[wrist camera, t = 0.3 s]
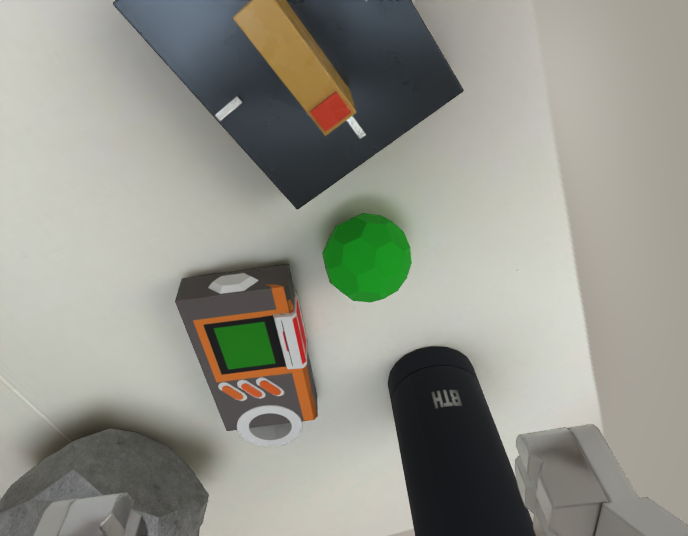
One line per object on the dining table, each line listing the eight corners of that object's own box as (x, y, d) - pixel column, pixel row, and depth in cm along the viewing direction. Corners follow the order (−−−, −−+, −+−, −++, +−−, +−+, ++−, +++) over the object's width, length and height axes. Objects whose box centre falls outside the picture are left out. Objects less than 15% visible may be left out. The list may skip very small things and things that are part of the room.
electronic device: (234, 455, 38) (171, 300, 29) (238, 422, 40) (181, 269, 32) (324, 443, 38) (289, 285, 29) (323, 411, 40) (290, 255, 31)
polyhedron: (344, 282, 33) (349, 330, 29) (307, 222, 31) (307, 266, 27) (415, 250, 32) (431, 296, 28) (384, 186, 30) (396, 225, 26)
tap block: (132, -4, 24) (110, 4, 21) (302, -171, 21) (301, -186, 18) (298, 186, 29) (297, 211, 27) (449, 76, 26) (465, 92, 24)
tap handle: (242, 6, 21) (231, 19, 18) (271, -20, 21) (265, -12, 18) (322, 111, 24) (325, 138, 21) (350, 90, 24) (357, 114, 20)
